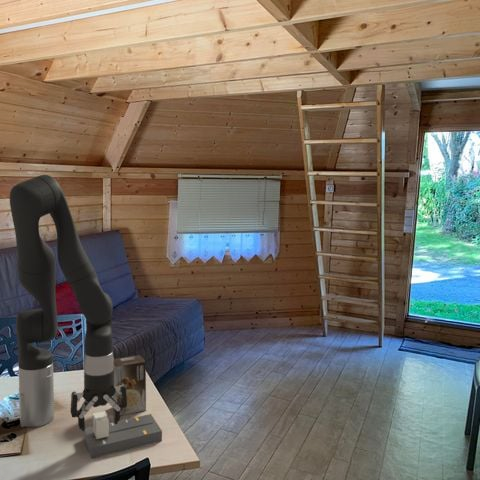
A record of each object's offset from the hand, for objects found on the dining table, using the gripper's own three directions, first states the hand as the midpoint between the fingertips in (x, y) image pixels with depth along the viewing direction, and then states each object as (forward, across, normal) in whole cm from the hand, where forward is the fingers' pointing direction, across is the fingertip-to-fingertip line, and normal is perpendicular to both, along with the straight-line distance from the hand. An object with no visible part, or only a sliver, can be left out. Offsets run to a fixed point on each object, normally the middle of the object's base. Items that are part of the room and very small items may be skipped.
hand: (99, 426), depth 125 cm
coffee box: (+6, +12, +17) cm, 22 cm away
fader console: (+6, +6, +1) cm, 9 cm away
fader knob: (+3, 0, 0) cm, 3 cm away
